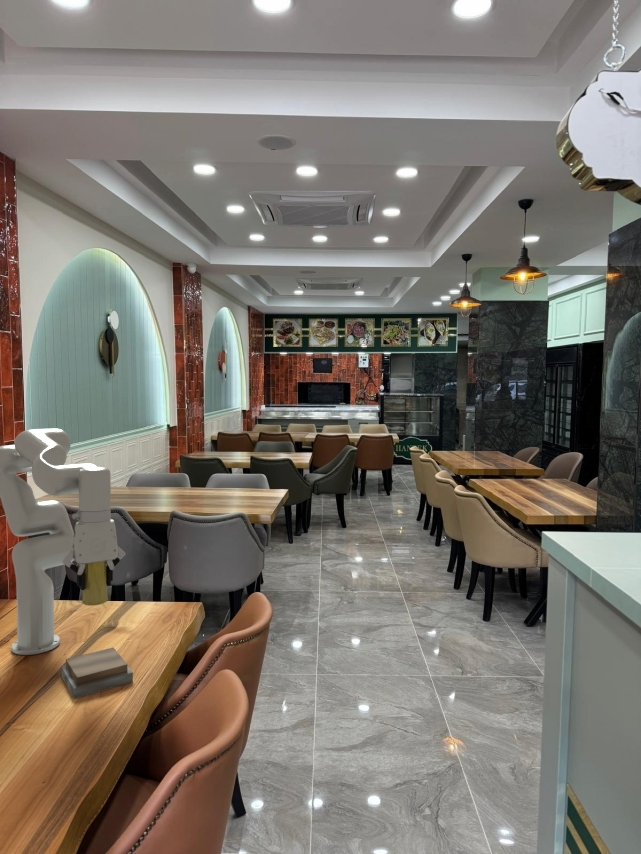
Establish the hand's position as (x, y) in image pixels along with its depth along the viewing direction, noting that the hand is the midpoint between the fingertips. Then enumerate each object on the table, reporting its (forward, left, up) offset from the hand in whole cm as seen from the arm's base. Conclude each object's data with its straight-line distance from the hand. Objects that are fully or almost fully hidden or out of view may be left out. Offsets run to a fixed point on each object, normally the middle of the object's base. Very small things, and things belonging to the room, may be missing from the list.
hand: (95, 585), depth 144 cm
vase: (0, 0, -4) cm, 4 cm away
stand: (0, 0, -24) cm, 24 cm away
